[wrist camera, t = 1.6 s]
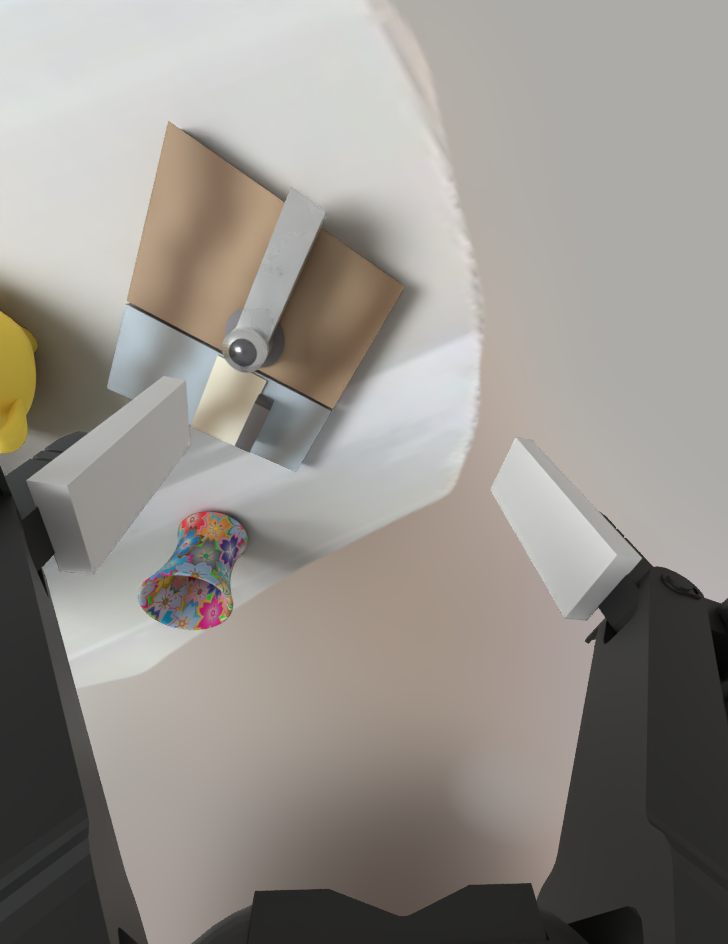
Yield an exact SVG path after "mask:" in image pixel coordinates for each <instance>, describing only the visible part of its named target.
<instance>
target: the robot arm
mask: <svg viewBox="0 0 728 944" xmlns="http://www.w3.org/2000/svg"><path fill="white" fill-rule="evenodd" d="M189 446H190V432H189V417H188V402H187V387H186V380H184V379H178V378H172V377H167V376H163V377H162V378H160V379H159V380H158V381H156V382H155V383H154V384H152V385H151V386H150V387H149V388H147V389H146V390H145V391H143V392H142V393H141V394H139V395H138V396H137V397H135V398H134V399H133V400H131V401H130V402H129V403H127V404H126V405H125V406H124V407H122V408H121V409H120V410H118V411H117V412H116V413H114V414H113V415H112V416H110V417H109V418H108V419H106V420H105V421H104V422H102V423H101V424H100V425H98V426H97V427H96V428H95V429H93V430H92V431H91V432H89V433H84V432H76V433H74V434H71V435H68V436H65V437H63V438H60V439H58V440H56V441H55V442H54V443H52V444H51V445H49V446H48V447H46V448H45V451H41V452H39V453H38V454H36V455H35V456H34V457H33V459H29V460H28V461H26V462H25V463H24V464H22V465H21V466H19V467H18V468H16V469H15V470H14V471H12V472H11V473H9V474H8V475H7V476H4V474H3V472H2V469H1V467H0V944H148V942H147V939H146V935H145V931H144V928H143V924H142V921H141V917H140V914H139V911H138V907H137V904H136V901H135V898H134V896H133V893H132V890H131V887H130V884H129V882H128V879H127V876H126V873H125V870H124V866H123V862H122V859H121V855H120V851H119V848H118V844H117V840H116V836H115V833H114V829H113V825H112V822H111V818H110V814H109V810H108V807H107V803H106V799H105V796H104V792H103V788H102V784H101V781H100V777H99V773H98V770H97V766H96V762H95V759H94V755H93V751H92V747H91V744H90V740H89V736H88V732H87V729H86V725H85V721H84V718H83V714H82V711H81V707H80V703H79V699H78V696H77V692H76V688H75V684H74V681H73V677H72V673H71V669H70V666H69V662H68V658H67V655H66V651H65V647H64V643H63V640H62V636H61V632H60V629H59V625H58V621H57V618H56V614H55V610H54V606H53V603H52V599H51V595H50V592H49V588H48V584H47V580H46V577H45V574H44V572H43V569H42V567H43V566H44V565H45V563H46V562H47V561H48V560H49V559H50V558H51V557H52V556H53V555H54V557H55V559H56V562H57V565H58V567H59V570H60V571H63V572H74V573H84V574H94V573H95V572H96V571H97V569H98V568H99V567H100V565H101V564H102V563H103V561H104V560H105V559H106V557H107V556H108V555H109V553H110V552H111V551H112V549H113V548H114V547H115V545H116V544H117V543H118V541H119V540H120V539H121V537H122V536H123V535H124V533H125V532H126V531H127V529H128V528H129V527H130V525H131V524H132V523H133V521H134V520H135V519H136V517H137V516H138V515H139V513H140V512H141V511H142V509H143V508H144V507H145V505H146V504H147V503H148V501H149V500H150V499H151V497H152V496H153V495H154V493H155V492H156V490H157V489H158V488H159V486H160V485H161V484H162V482H163V481H164V480H165V478H166V477H167V476H168V474H169V473H170V472H171V470H172V469H173V468H174V466H175V465H176V464H177V462H178V461H179V460H180V458H181V457H182V456H183V454H184V453H185V452H186V450H187V449H188V448H189ZM490 490H491V492H492V494H493V495H494V497H495V499H496V501H497V502H498V504H499V506H500V508H501V509H502V511H503V513H504V515H505V516H506V518H507V520H508V521H509V523H510V525H511V527H512V528H513V530H514V531H515V534H516V535H517V537H518V539H519V540H520V542H521V544H522V546H523V547H524V549H525V551H526V553H527V554H528V556H529V558H530V560H531V561H532V563H533V565H534V566H535V568H536V570H537V571H538V573H539V575H540V577H541V579H542V580H543V582H544V584H545V585H546V587H547V589H548V590H549V592H550V594H551V596H552V598H553V599H554V601H555V603H556V604H557V606H558V608H559V610H560V611H561V613H562V615H563V617H564V618H565V619H575V620H588V619H589V618H590V617H591V615H592V614H593V613H594V612H595V611H596V610H597V609H598V608H599V609H600V610H601V612H602V613H603V614H604V616H605V619H604V620H603V621H602V622H601V623H600V624H599V625H598V626H597V627H596V628H595V629H594V630H593V632H592V633H591V634H590V635H589V636H588V637H587V638H586V640H585V642H587V643H590V641H591V640H594V639H596V642H595V646H594V647H595V648H594V653H593V660H592V665H591V670H590V676H589V681H588V687H587V693H586V698H585V704H584V709H583V715H582V720H581V726H580V731H579V737H578V743H577V748H576V754H575V759H574V765H573V771H572V776H571V782H570V787H569V793H568V798H567V804H566V809H565V815H564V821H563V826H562V832H561V837H560V843H559V849H558V854H557V858H556V862H555V865H554V867H553V869H552V872H551V873H550V875H549V876H548V878H547V880H546V881H545V883H544V884H543V886H542V888H541V891H540V893H539V895H538V898H537V901H536V898H535V895H534V891H533V888H532V885H531V883H524V884H523V883H522V884H487V885H468V886H466V887H464V888H463V889H460V890H459V891H457V892H455V893H453V894H451V895H449V896H447V897H445V898H443V899H441V900H439V901H437V902H435V903H433V904H431V905H429V906H427V907H425V908H423V909H421V910H419V911H417V912H415V913H413V914H411V915H409V916H398V915H394V914H392V913H389V912H387V911H384V910H382V909H379V908H377V907H374V906H371V905H369V904H366V903H364V902H361V901H358V900H356V899H353V898H351V897H348V896H346V895H343V894H340V893H338V892H335V891H333V890H330V889H312V890H275V891H255V894H254V898H253V903H252V905H251V906H249V907H246V908H244V909H242V910H240V911H237V912H235V913H233V914H231V915H230V916H228V917H226V918H225V919H224V920H222V921H220V922H219V923H217V924H215V925H214V926H212V927H211V928H210V929H209V930H208V931H206V932H205V933H204V934H203V935H202V936H201V937H199V938H198V939H197V940H195V941H194V942H193V943H192V944H728V598H727V599H726V600H725V601H724V602H723V603H722V604H721V603H718V602H715V601H712V600H709V599H706V598H704V596H703V594H702V593H701V592H700V590H699V589H698V588H697V587H696V586H695V585H694V584H692V583H691V582H690V581H689V580H687V579H686V578H685V577H683V576H681V575H680V574H677V573H676V572H674V571H671V570H669V569H667V568H663V567H653V566H652V565H651V564H650V563H649V562H648V561H647V560H646V559H645V558H644V557H643V555H642V554H641V553H640V552H639V551H638V550H637V549H636V548H635V547H634V546H633V545H632V544H631V543H630V542H629V540H628V539H627V538H624V535H623V534H622V533H621V532H620V531H619V530H618V529H616V527H615V526H614V524H612V522H611V521H610V520H609V519H608V518H607V517H606V516H605V515H603V514H602V513H601V512H599V511H598V510H597V509H596V508H595V507H594V506H593V505H592V504H591V503H590V501H589V500H587V498H586V497H585V496H584V495H583V494H582V493H581V492H580V491H579V490H578V489H577V488H576V486H575V485H574V484H573V483H572V482H571V481H570V480H569V479H568V478H567V477H566V476H565V475H564V474H563V473H562V471H561V470H560V469H559V468H558V467H557V466H556V465H555V464H554V463H553V462H552V461H551V460H550V458H549V457H548V456H547V455H546V454H545V453H544V452H543V451H542V450H541V449H540V448H539V447H538V446H537V444H536V443H535V442H534V441H533V440H529V439H523V438H517V437H516V438H515V440H514V442H513V444H512V446H511V448H510V450H509V452H508V454H507V456H506V459H505V460H504V463H503V464H502V467H501V469H500V471H499V473H498V475H497V477H496V479H495V481H494V483H493V485H492V487H491V489H490Z"/></svg>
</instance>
